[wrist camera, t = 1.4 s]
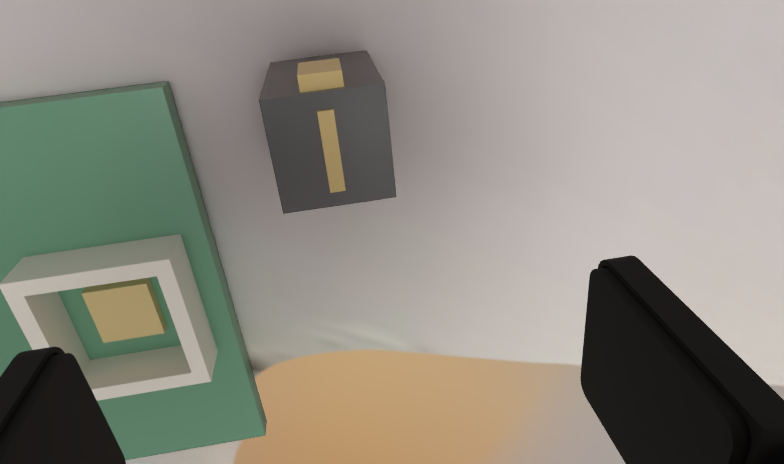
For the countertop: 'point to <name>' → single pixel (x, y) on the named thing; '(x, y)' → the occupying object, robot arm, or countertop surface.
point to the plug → (328, 131)
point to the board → (121, 267)
